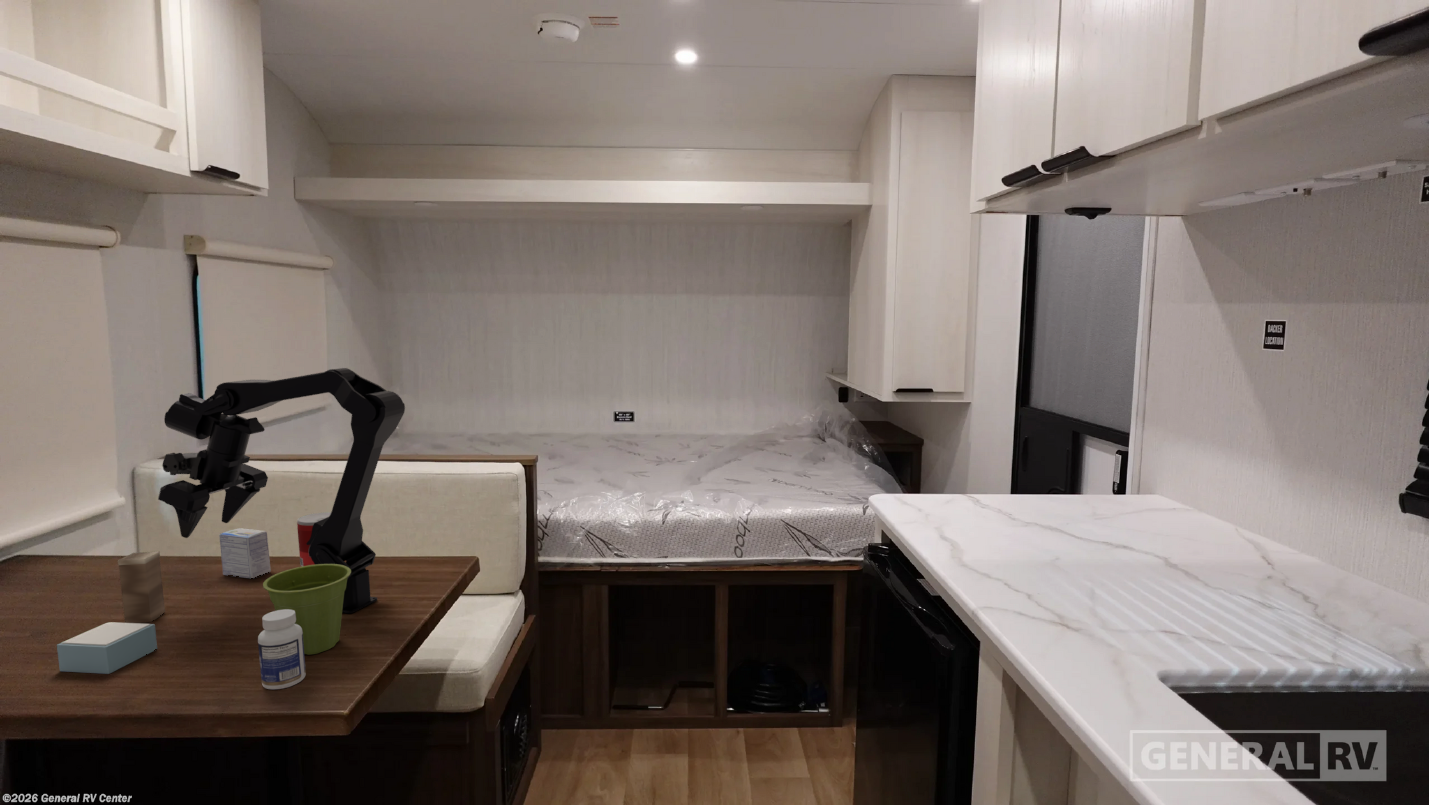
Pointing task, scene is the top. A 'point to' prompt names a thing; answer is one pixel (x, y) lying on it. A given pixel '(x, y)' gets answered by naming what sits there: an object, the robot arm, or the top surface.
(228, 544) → the medicine box
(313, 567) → the plant pot
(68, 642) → the stand
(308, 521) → the canned food
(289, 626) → the pill bottle
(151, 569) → the beige block
